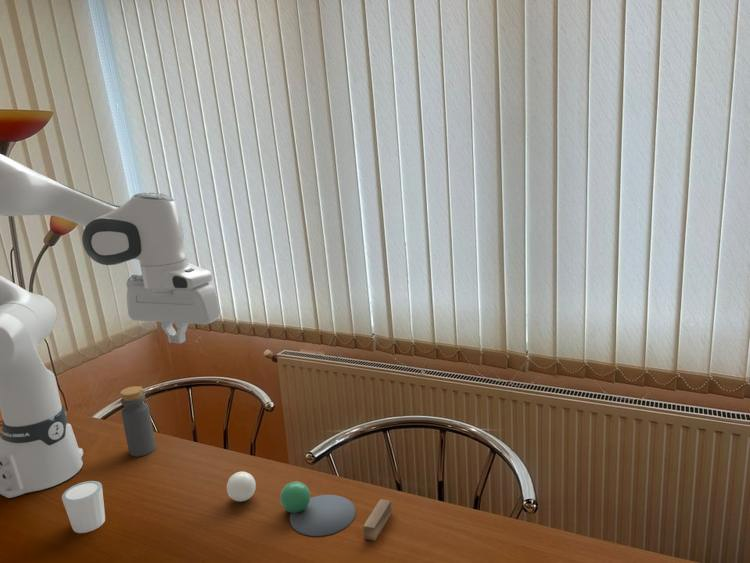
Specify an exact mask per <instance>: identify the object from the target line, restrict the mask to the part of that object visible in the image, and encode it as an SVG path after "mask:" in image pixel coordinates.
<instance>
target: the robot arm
mask: <svg viewBox="0 0 750 563" xmlns="http://www.w3.org/2000/svg"><path fill="white" fill-rule="evenodd" d="M37 215H39V216H40V215H41V216H42V215H43V216H53V217H58V218H61V219H65V220H67V221H70V222H72V223H75V224H77V225H80V226H82V227H85V228H84V229H83V231H82V236H81V237H82V238H81V241H82V247H83V248H84V250H85V252H86V254H87V255H88V257H89V258H90V259H91V260H92V261H95V263H97V264H100V265H103V266H104V265H105V266H116V265H121V264H123V263H125V262H128V261H131V260H137V261H138V262H139V264H140V271H141V274H132V275H131V276H130V277H129V278H127V281H126V288H127V289H126V306H127V307H126V308H127V315H128V317H129V318H130V319H131V320H132V321H137V322H139V321H140V322H156V323H160V328H161V329H162V330H163V331H164V333H165V334H166V335H167V339H168V343H170V344H171V343H172V344H173V343H174V344H183V343H185V342H186V340H187V339H186V332H187V329H188V327H189V325H190V324H191V325H209V324H211V323H213V322H215V321H217V320H218V318H219V316H220V308H219V306H220V305H219V301H218V297H217V293H216V290H215V287H214V286H213V285H212V284H211V283H210V282H212V280H213V274H212V272H211V270H207V269H205V268H203V267H200V266H198V265H195V264H193V263H191V262H189V259H188V255H187V253H186V250H185V248H184V240H185V236H184V234H185V233H184V229H183V223H182V220H181V219H182V218H181V215H180V211H179V208H178V205H177V203H176V201H175V199H174V198H172V196H170V195H167V194H165V193H164V194H163V193H159V192H158V193H157V192H141V193H140V192H139V193H136V194H133V195H132V197H131V198H130V199H129V200H128V201H126V202H125V203H124V204H122V205H115V204H114V203H113V204H112V203H110V202H106V201H104V200H101V199H99V198H97V197H95V196H93V195H90V194H88V193H85V192H83V191H80V190H77V189H75V188H73V187H70V186H68V185H65V184H62V183H60V182H58V181H57V180H54V179H52V178H50V177H48V176H46V175H43V174H41V173H39V172H37V171H35V170H34V169H31V168H30V167H27V166H26V165H24V164H22V163H20V162H18V161H16V160H14V159H12V158H10V157H9V156H6V155H4V154H1V153H0V216H4V217H19V216H21V217H22V216H37ZM57 319H58V312H57V309H56V306H55V305H54V303H53V302H52V301H51V300H50V299H49V298H47V297H46V296H44V295H42V294H37V293H33V292H31V291H29V290H26V289H24V288H23V287H21V286H19V285H18V284H16V283H14V282H12V281H11V280H9V279H7V278H6V277H4V275H3V276H2V275H1V274H0V412H1V415H2V420H1V421H0V428H1V432H0V495H1V496H4V497H5V498H8V499H10V498H11V499H12V498H16V497H18V496H22V495H25V494H27V493H33V492H37V491H42V490H46V489H49V488H52V487H55V486H57V485H59V484H62V483H63V482H66V481H67V480H69V479H71V478H72V477H74V476H75V475H76V474H77V473H79V472H80V470H81V468H82V467H83V464H84V462H83V460H82V458H83V456H84V450H83V448H82V447H79V446H78V443H77V439H76V436H75V434H74V430H73V428H72V425H71V424H70V423H68V417H67V412H66V409H65V407H64V405H62V402H61V397H60V392H59V387H58V384H57V379H56V378H57V377H56V376H55V374H54V372H53V371H52V370H50V369H48V368H47V367H46V366H45V364H44V362H43V360H42V358H41V356H40V354H39V349H38V348H39V347H38V346H39V344H40V343H41V342H43V341H44V340H46V339H47V338H48V336H50V334H51V333H52V331H53V330H54V327H55V325H56V322H57ZM174 324H175V328H177V331H176V329H175V328H174V326H173V325H174Z"/></svg>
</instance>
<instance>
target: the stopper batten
mask: <svg viewBox="0 0 750 563" xmlns="http://www.w3.org/2000/svg"><path fill="white" fill-rule="evenodd" d="M392 511H393V510H392V501H391V500H388V499H383V498H380V499H379V500H378V502H377V504H376V505H375V507H374V508H373V510H372V512H371V513H370V515H369V516H368V518H367V519H366V521H365V523H364V524H363V526H362V527H363V538H364V539H365V540H369V541H375V542H376V541H377V539H378V537H379V535H380V534H381V532H382V530H383V529H384V527H385V525H386V523H387V522H388V520H389V518H390V517H391V515H392V513H393V512H392Z"/></svg>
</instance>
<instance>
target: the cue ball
mask: <svg viewBox="0 0 750 563" xmlns="http://www.w3.org/2000/svg"><path fill="white" fill-rule="evenodd" d="M256 488H257V486H256V480H255V478H254V476H253V475H252V474H251V473H249V472H247V471H238V472H235V473H233V474H232V475H231V476H230V477H229V478H228V481H227V484H226V492H227V494H228V496H229V497H230V498H231V500H233V501H235V502H240V503H241V502H246V501H247V500H249V499H250V498H252V496H253V495H254V494H255V492H256Z"/></svg>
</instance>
